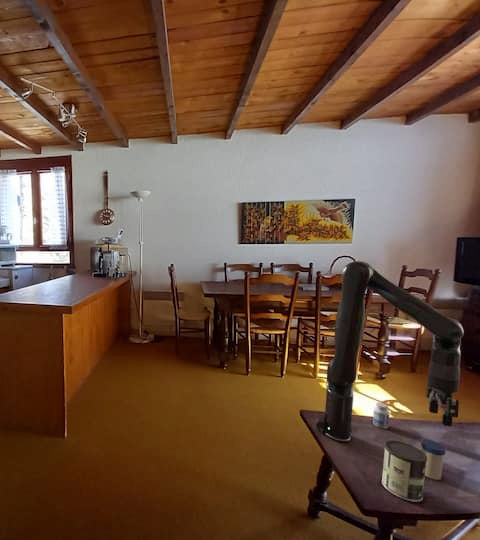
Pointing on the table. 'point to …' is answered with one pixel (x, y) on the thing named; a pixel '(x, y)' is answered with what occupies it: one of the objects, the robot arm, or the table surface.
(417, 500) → the coffee can
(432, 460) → the jar
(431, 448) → the lid
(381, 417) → the pill bottle
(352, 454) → the table surface
